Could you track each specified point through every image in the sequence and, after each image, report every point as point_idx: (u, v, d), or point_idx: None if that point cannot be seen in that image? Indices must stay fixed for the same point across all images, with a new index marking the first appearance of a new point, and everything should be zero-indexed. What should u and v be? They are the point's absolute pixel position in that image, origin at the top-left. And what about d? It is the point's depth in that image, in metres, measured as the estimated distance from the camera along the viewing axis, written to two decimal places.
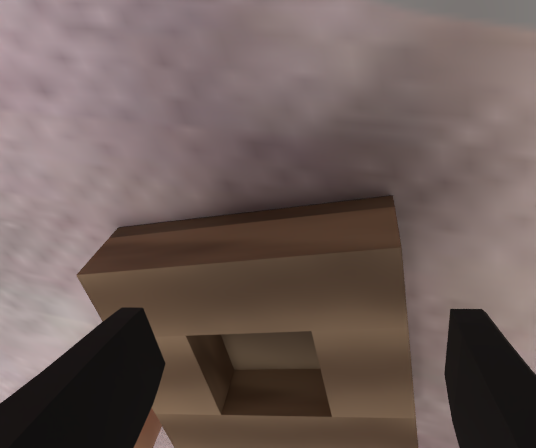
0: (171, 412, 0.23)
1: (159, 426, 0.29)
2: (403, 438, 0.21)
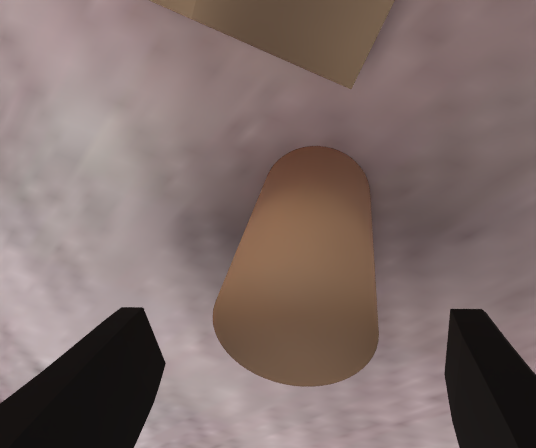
0: None
1: (349, 172, 0.14)
2: None
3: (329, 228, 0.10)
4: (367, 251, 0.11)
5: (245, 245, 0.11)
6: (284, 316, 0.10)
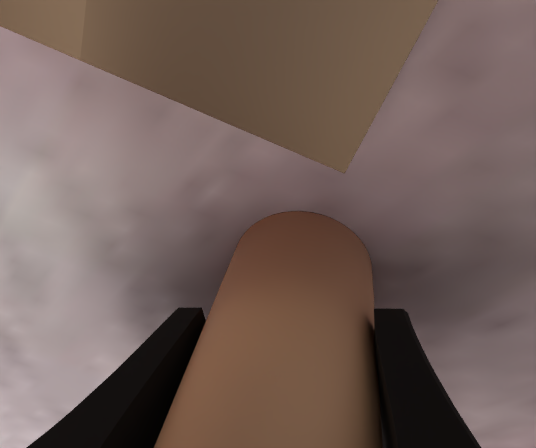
0: None
1: (344, 255, 0.10)
2: None
3: (311, 381, 0.07)
4: (370, 405, 0.07)
5: (182, 402, 0.07)
6: None
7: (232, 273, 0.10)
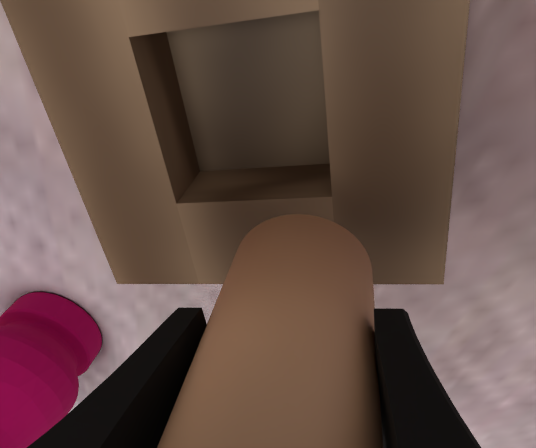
0: None
1: (342, 256, 0.10)
2: None
3: (308, 383, 0.07)
4: (369, 406, 0.07)
5: (182, 407, 0.07)
6: None
7: (232, 277, 0.10)
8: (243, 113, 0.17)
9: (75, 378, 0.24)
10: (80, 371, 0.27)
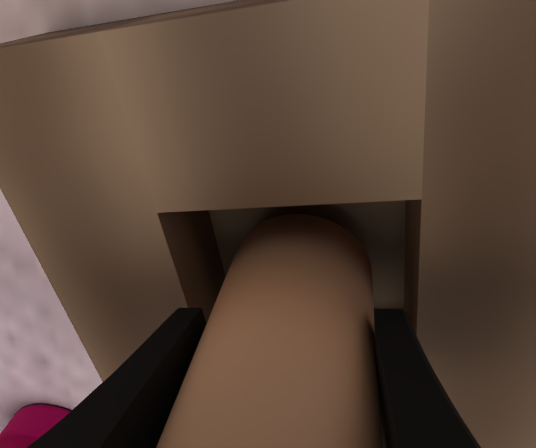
0: None
1: (342, 256, 0.10)
2: None
3: (308, 383, 0.07)
4: (369, 406, 0.07)
5: (181, 406, 0.07)
6: None
7: (231, 277, 0.10)
8: None
9: None
10: None
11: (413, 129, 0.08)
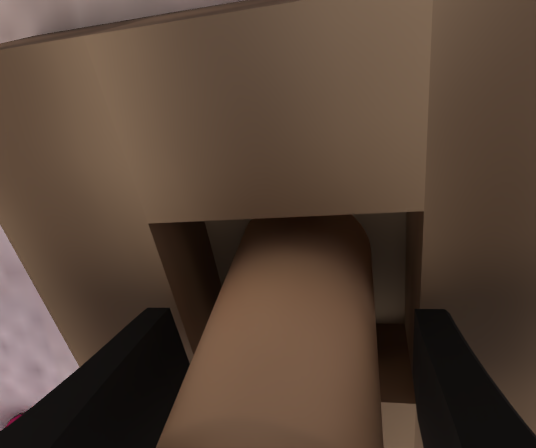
0: None
1: (343, 234, 0.11)
2: None
3: (313, 336, 0.08)
4: (368, 360, 0.08)
5: (200, 359, 0.08)
6: None
7: (241, 253, 0.11)
8: None
9: None
10: None
11: (415, 138, 0.08)
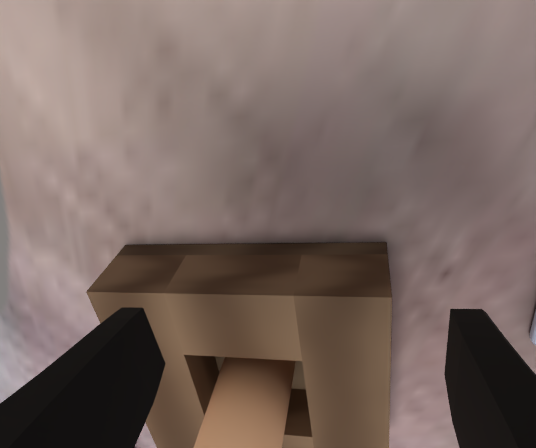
0: None
1: None
2: (334, 308, 0.18)
3: (252, 415, 0.19)
4: (276, 424, 0.19)
5: (207, 422, 0.19)
6: None
7: (226, 363, 0.22)
8: None
9: None
10: None
11: (294, 337, 0.19)
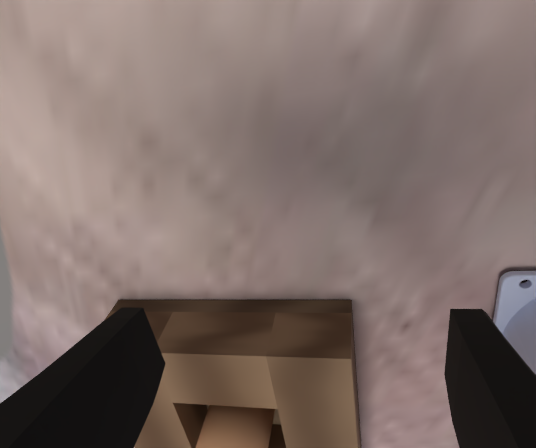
0: None
1: None
2: (302, 367, 0.20)
3: None
4: None
5: None
6: None
7: (212, 407, 0.24)
8: None
9: None
10: None
11: (269, 390, 0.21)
